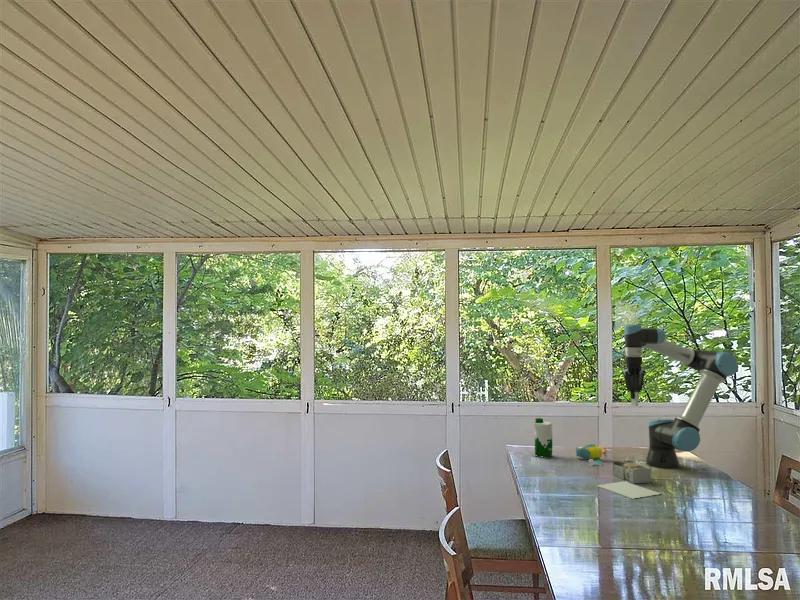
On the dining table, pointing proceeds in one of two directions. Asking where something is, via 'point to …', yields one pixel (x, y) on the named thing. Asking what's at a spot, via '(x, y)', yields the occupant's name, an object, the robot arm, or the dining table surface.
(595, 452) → the yellow teal toy
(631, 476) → the coffee box
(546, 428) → the milk carton
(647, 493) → the mat
